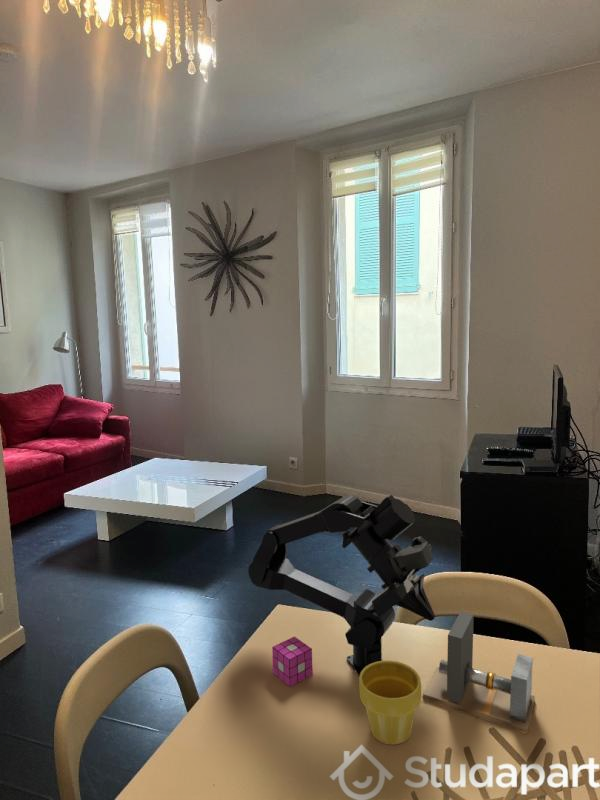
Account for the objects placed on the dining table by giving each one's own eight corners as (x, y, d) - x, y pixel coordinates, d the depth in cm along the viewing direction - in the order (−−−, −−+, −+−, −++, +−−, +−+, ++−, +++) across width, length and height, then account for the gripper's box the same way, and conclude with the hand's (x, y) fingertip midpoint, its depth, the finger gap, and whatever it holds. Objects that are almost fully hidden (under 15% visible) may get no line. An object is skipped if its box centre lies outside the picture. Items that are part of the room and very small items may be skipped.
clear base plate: (422, 698, 102) (422, 693, 102) (436, 671, 110) (437, 666, 110) (527, 733, 93) (527, 727, 93) (534, 701, 101) (534, 695, 101)
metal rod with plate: (435, 694, 102) (435, 653, 101) (445, 672, 108) (446, 634, 106) (525, 723, 94) (526, 680, 93) (531, 698, 100) (532, 657, 99)
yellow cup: (349, 719, 97) (348, 668, 96) (399, 703, 101) (399, 653, 100) (378, 762, 88) (378, 706, 86) (433, 742, 91) (434, 688, 90)
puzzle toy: (272, 672, 111) (271, 646, 110) (295, 661, 114) (294, 635, 113) (290, 687, 106) (289, 659, 105) (312, 674, 110) (312, 648, 109)
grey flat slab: (446, 699, 100) (447, 634, 98) (459, 671, 107) (460, 611, 105) (460, 703, 98) (461, 638, 97) (472, 675, 106) (473, 614, 104)
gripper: (388, 547, 96) (450, 622, 92) (421, 513, 112) (476, 576, 108) (347, 580, 101) (405, 652, 97) (385, 543, 117) (436, 604, 113)
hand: (433, 619), depth 104 cm, fingers closed
